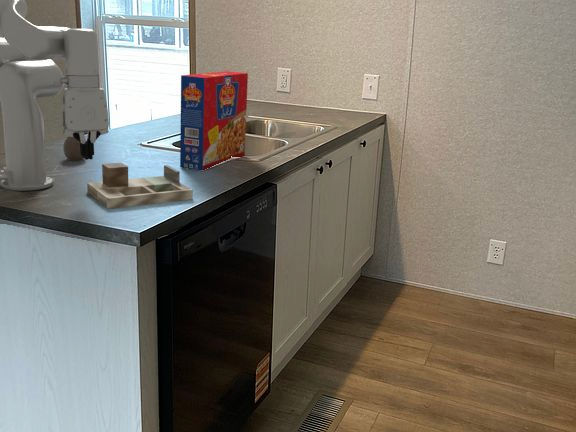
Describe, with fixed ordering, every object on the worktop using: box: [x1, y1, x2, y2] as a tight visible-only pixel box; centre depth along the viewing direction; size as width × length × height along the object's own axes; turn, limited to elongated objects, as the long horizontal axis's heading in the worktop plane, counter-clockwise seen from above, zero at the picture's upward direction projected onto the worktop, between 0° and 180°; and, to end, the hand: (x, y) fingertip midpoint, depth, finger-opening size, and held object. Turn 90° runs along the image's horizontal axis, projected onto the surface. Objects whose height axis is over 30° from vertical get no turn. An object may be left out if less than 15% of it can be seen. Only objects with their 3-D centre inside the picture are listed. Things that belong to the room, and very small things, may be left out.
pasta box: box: [179, 70, 249, 171], centre depth 202 cm, size 28×8×28 cm, turn 157°
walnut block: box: [101, 162, 129, 188], centre depth 162 cm, size 5×5×5 cm
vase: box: [62, 136, 85, 162], centre depth 196 cm, size 7×7×9 cm
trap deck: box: [86, 164, 194, 210], centre depth 162 cm, size 22×16×6 cm
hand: (87, 158), depth 156 cm, fingers closed
